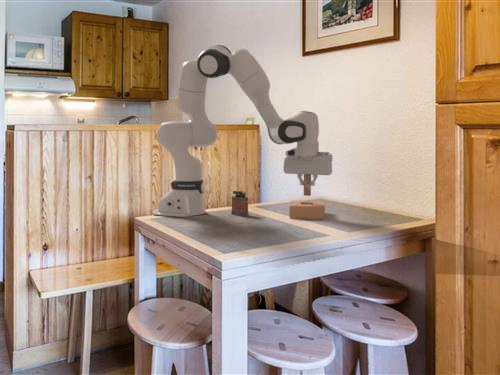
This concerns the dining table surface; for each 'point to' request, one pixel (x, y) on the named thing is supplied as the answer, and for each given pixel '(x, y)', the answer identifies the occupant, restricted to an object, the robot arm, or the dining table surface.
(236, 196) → the lighter
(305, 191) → the key peg
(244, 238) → the dining table surface
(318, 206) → the block
